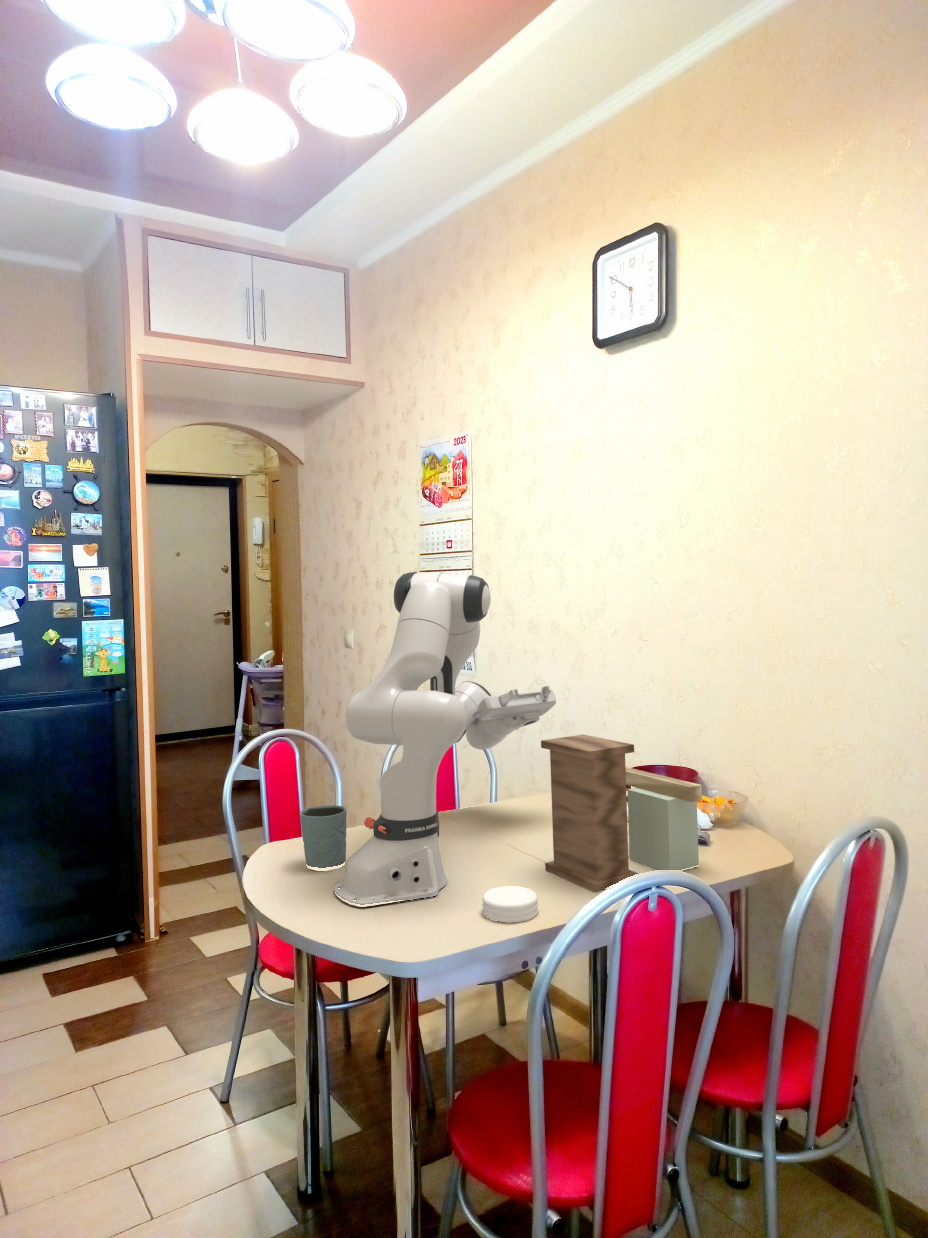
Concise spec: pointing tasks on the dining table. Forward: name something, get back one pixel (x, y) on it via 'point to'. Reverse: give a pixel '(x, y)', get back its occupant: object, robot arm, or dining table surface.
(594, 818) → the walnut pedestal
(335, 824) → the grey-green cup
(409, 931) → the dining table surface
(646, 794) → the sage-green block
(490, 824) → the dining table surface
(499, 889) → the coaster
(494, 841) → the dining table surface
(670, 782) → the maple rod
